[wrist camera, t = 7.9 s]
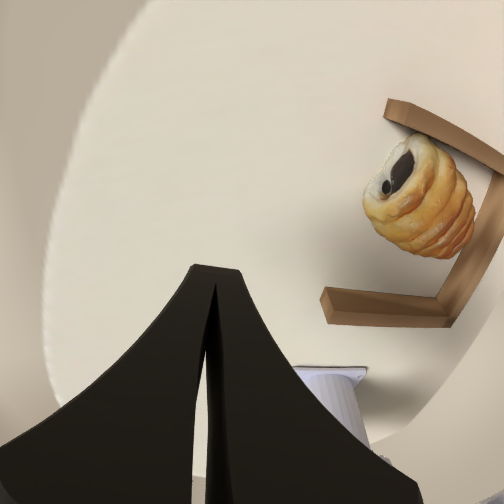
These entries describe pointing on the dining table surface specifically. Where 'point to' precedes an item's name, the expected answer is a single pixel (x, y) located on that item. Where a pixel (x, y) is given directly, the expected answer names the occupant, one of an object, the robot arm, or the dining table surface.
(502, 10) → the dining table surface
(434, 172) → the pastry
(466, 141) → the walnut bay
